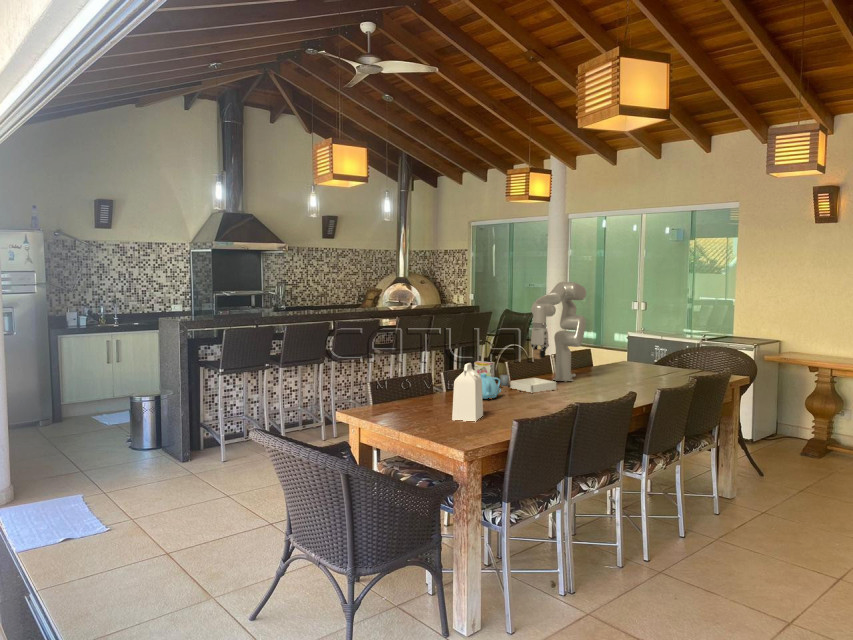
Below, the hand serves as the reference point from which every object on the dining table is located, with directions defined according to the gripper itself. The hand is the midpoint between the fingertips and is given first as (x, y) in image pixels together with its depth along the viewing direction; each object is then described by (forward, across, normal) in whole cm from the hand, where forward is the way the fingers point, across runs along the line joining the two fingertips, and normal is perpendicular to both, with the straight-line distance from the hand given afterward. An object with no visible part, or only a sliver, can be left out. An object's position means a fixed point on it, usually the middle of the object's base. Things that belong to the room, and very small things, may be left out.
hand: (539, 356), depth 377 cm
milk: (+20, -33, +80) cm, 89 cm away
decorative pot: (+20, -1, +44) cm, 48 cm away
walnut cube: (+1, 0, 0) cm, 1 cm away
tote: (+19, 0, +4) cm, 20 cm away
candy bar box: (+20, +17, +28) cm, 38 cm away
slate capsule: (+19, +17, +12) cm, 28 cm away
